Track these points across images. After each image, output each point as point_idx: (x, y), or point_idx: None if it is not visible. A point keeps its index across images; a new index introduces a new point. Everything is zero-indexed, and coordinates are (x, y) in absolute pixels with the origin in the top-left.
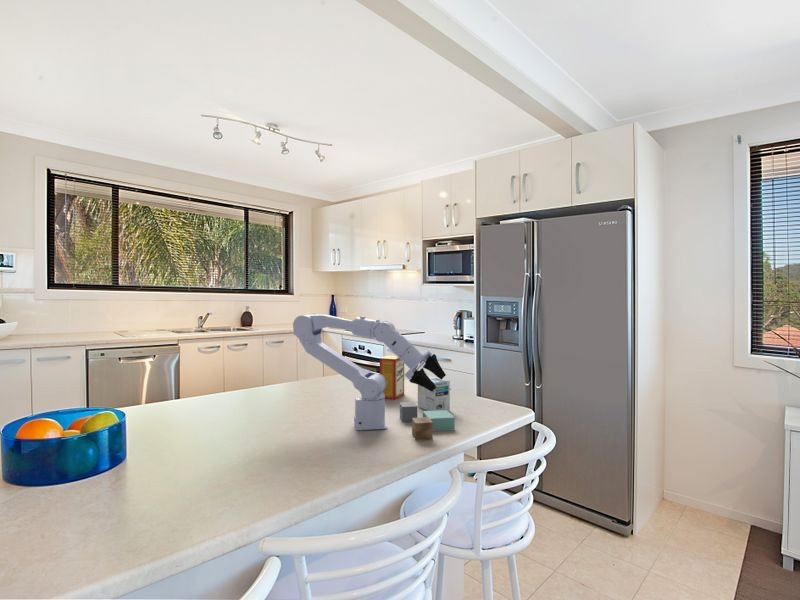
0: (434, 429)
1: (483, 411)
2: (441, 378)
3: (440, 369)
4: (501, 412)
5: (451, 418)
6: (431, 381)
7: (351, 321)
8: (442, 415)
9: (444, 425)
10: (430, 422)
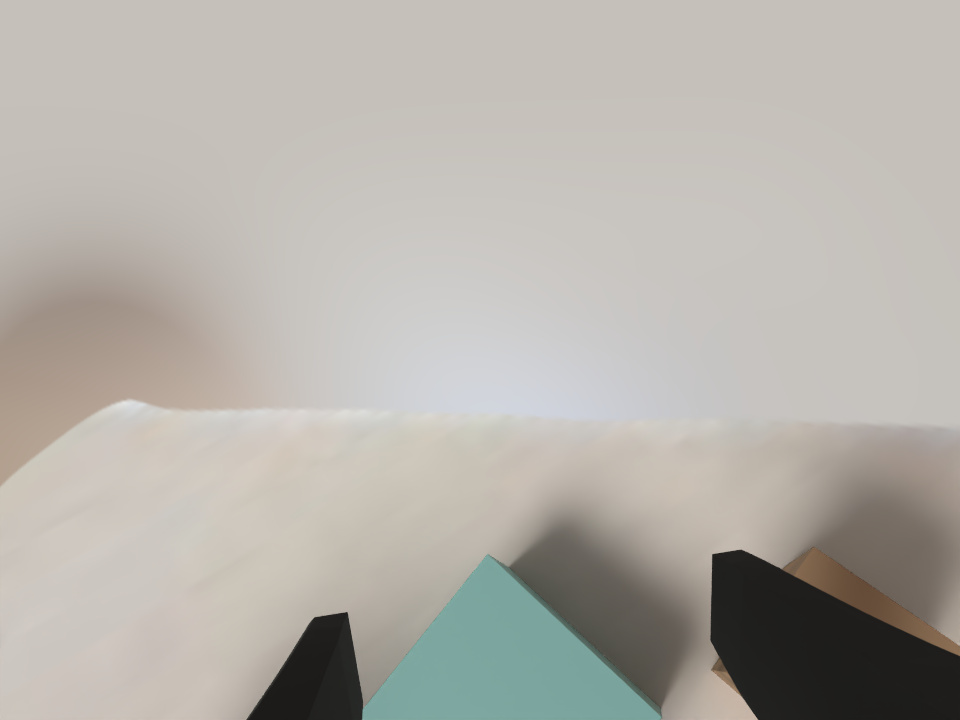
0: (622, 674)
1: (99, 616)
2: (359, 699)
3: (317, 703)
4: (93, 518)
5: (507, 571)
6: (808, 606)
7: None
8: (504, 665)
9: (557, 615)
10: (832, 562)
